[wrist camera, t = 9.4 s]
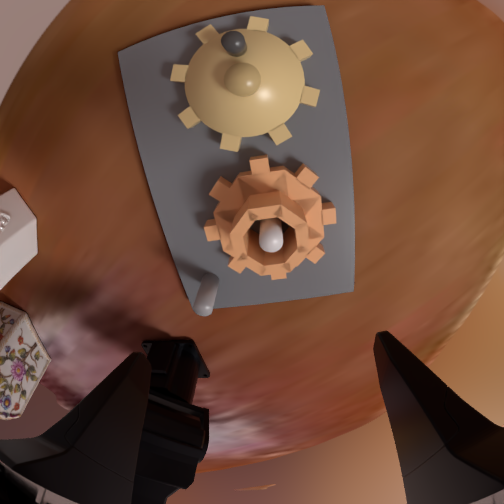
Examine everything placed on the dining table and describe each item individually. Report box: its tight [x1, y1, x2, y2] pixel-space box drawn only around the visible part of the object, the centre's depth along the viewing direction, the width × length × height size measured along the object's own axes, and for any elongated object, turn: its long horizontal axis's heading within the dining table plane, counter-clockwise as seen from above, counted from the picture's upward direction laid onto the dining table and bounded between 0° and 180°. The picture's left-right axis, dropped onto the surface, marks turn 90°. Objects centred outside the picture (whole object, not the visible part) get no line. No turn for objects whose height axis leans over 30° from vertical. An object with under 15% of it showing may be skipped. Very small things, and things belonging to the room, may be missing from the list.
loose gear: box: [204, 155, 336, 280], centre depth 17 cm, size 9×9×4 cm
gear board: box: [118, 6, 355, 316], centre depth 16 cm, size 22×14×4 cm, turn 11°
